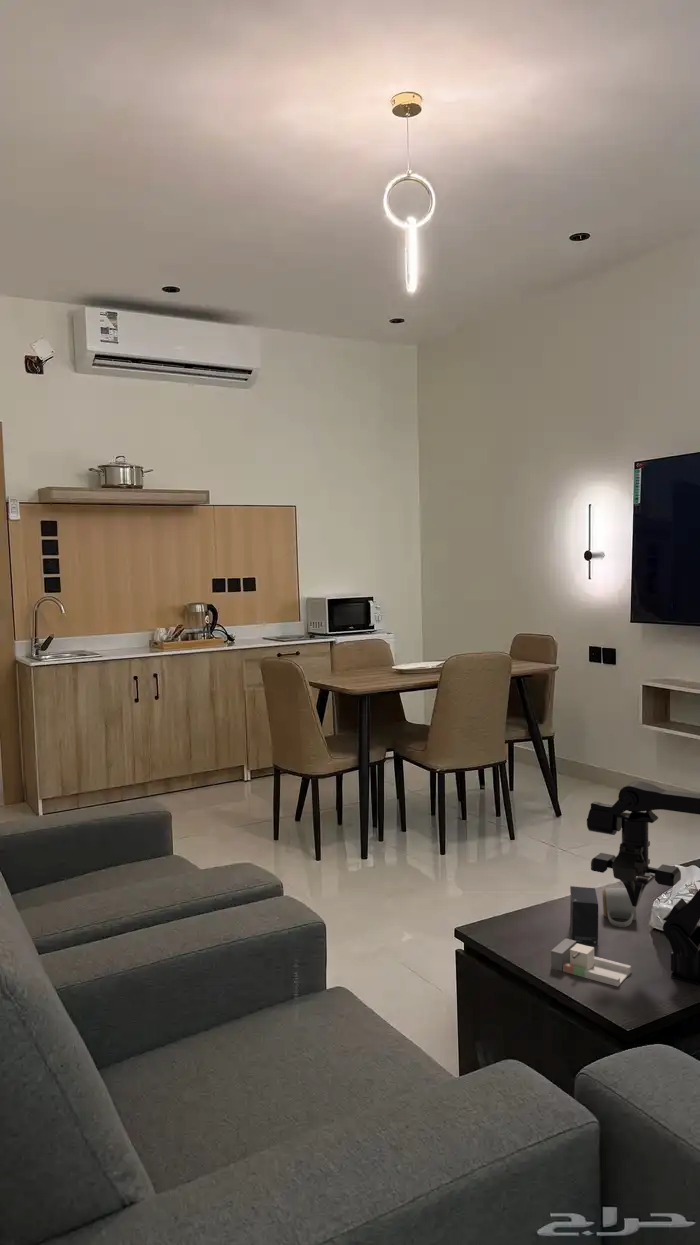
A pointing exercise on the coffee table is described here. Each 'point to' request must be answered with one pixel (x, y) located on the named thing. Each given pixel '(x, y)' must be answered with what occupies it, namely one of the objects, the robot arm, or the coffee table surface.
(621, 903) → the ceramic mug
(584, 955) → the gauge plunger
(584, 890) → the small box
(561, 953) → the base
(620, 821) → the robot arm
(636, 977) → the coffee table surface
